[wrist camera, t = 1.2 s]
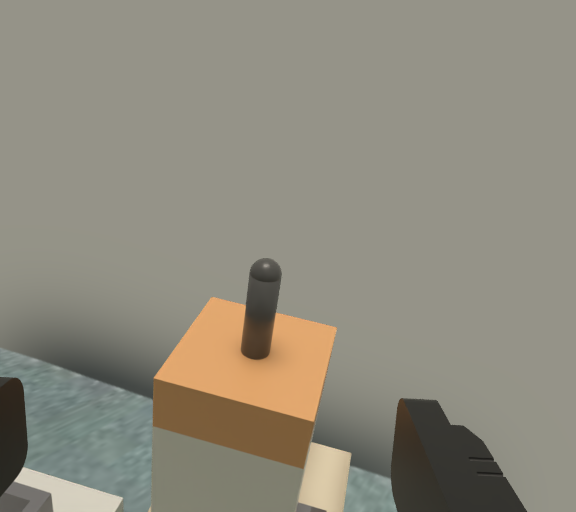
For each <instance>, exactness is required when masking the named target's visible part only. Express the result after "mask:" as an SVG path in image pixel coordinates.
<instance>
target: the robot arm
mask: <svg viewBox="0 0 576 512" xmlns="http://www.w3.org/2000/svg"><path fill="white" fill-rule="evenodd" d="M27 448H28V442H27V428H26V415H25V402H24V390H23V385H22V383H21V381H20V380H19V379H18V378H9V377H0V497H1V496H2V495H3V493H4V492H5V491H6V490H7V489H8V487H9V486H10V485H11V484H12V483H13V481H14V480H15V479H16V478H17V477H18V475H19V474H20V472H21V470H22V468H23V465H24V463H25V459H26V455H27ZM391 484H392V492H393V497H394V501H395V504H396V508H397V512H527V511H526V509H525V508H524V506H523V504H522V503H521V501H520V500H519V498H518V496H517V495H516V493H515V492H514V490H513V488H512V487H511V485H510V484H509V482H508V480H507V479H506V477H503V473H502V471H501V469H500V468H499V466H498V465H497V463H496V462H494V459H493V457H492V455H491V453H490V452H489V450H488V449H487V447H486V445H485V444H484V442H483V441H482V440H481V439H480V438H478V437H477V436H476V435H474V434H473V433H472V432H471V431H469V430H468V429H467V428H466V427H464V426H460V425H450V423H449V421H448V419H447V417H446V416H445V414H444V412H443V410H442V408H441V406H440V405H439V403H438V401H436V400H424V399H403V398H401V399H400V400H399V403H398V407H397V415H396V426H395V434H394V444H393V453H392V463H391Z"/></svg>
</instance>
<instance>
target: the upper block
mask: <svg viewBox="0 0 576 512" xmlns="http://www.w3.org/2000/svg"><path fill="white" fill-rule="evenodd" d="M350 458H351V453H349V452H345V451H342V450H338V449H334V448H330V447H327V446H324V445H320V444H316V443H313V442H311V446H310V451H309V455H308V460H307V464H306V469H305V473H304V477H303V482H302V486H301V491H300V495H299V500H298V504H297V509H296V512H343V508H344V501H345V494H346V487H347V480H348V473H349V466H350ZM148 512H151V507H150V509H149V511H148Z"/></svg>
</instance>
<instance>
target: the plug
mask: <svg viewBox="0 0 576 512" xmlns="http://www.w3.org/2000/svg"><path fill="white" fill-rule="evenodd" d="M281 275H282V273H281V268H280V266H279V265H278V264H277V262H275V261H274V260H272V259H269V258H263V259H260V260H258V261H256V262H255V263H254V264H253V265H252V267H251V269H250V275H249V283H248V292H247V300H246V305H243V304H239V303H234V302H230V301H226V300H222V299H218V298H214V297H211V299H210V300H209V302H208V303H207V304H206V306H205V307H204V309H203V310H202V311H201V313H200V314H199V316H198V317H197V318H196V320H195V321H194V323H193V324H192V325H191V327H190V328H189V330H188V331H187V332H186V334H185V335H184V337H183V338H182V339H181V341H180V342H179V344H178V345H177V346H176V348H175V349H174V351H173V352H172V353H171V355H170V356H169V358H168V359H167V361H166V362H165V363H164V365H163V366H162V367H161V369H160V370H159V372H158V373H157V374H156V376H155V377H154V389H153V391H154V392H153V438H152V486H151V512H296V509H297V504H298V500H299V495H300V491H301V486H302V482H303V477H304V473H305V469H306V464H307V460H308V455H309V451H310V446H311V442H312V437H313V432H314V428H315V423H316V419H317V415H318V410H319V406H320V401H321V397H322V392H323V388H324V383H325V378H326V375H327V370H328V365H329V361H330V357H331V352H332V347H333V343H334V339H335V334H336V330H337V328H336V327H332V326H328V325H324V324H320V323H316V322H312V321H308V320H304V319H300V318H296V317H292V316H288V315H284V314H279V313H276V309H277V302H278V296H279V289H280V282H281Z"/></svg>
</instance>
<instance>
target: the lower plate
mask: <svg viewBox="0 0 576 512" xmlns="http://www.w3.org/2000/svg"><path fill="white" fill-rule="evenodd" d="M0 512H123V498H121V497H118V496H114V495H111V494H108V493H105V492H101V491H98V490H95V489H92V488H89V487H85V486H82V485H79V484H76V483H72V482H69V481H66V480H63V479H59V478H56V477H53V476H50V475H47V474H43V473H40V472H37V471H34V470H30V469H27V468H24V467H23V468H22V470H21V472H20V474H19V475H18V477H17V478H16V479H15V480H14V481H13V483H12V484H11V485H10V486H9V487H8V489H7V490H6V491H5V492H4V493H3V495H2V496H1V497H0Z"/></svg>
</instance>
